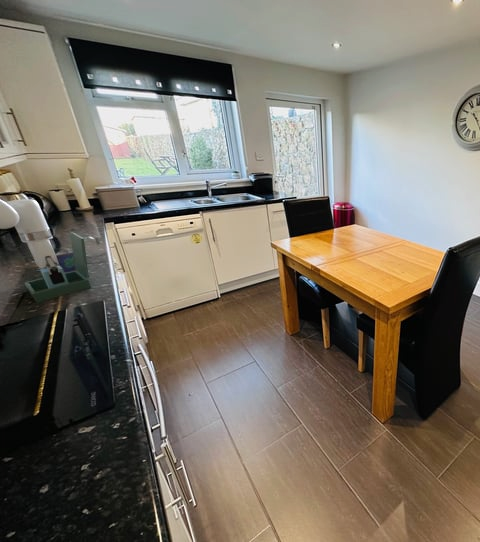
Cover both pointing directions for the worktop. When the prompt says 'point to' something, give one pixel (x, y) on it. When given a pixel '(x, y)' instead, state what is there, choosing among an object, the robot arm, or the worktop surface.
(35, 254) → the robot arm
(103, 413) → the worktop surface
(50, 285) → the pale green block
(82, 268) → the bin lid
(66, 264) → the purple box
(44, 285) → the green open tray
